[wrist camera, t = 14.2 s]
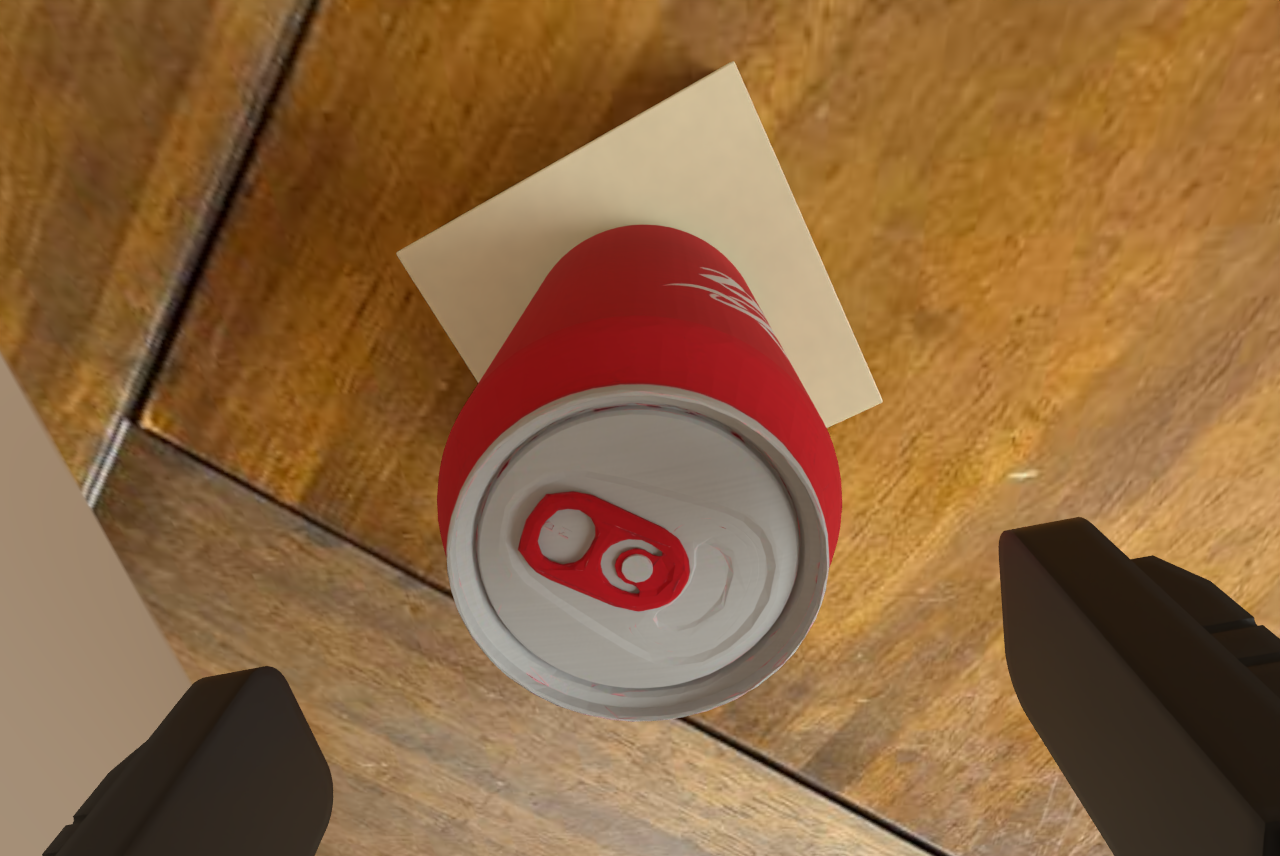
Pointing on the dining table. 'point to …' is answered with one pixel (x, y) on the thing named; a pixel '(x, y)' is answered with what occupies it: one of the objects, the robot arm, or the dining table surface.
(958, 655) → the dining table surface
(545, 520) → the beverage can
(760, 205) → the block
